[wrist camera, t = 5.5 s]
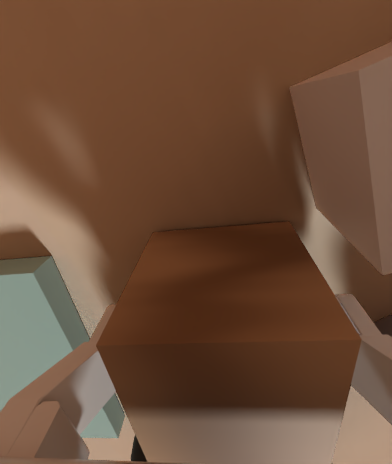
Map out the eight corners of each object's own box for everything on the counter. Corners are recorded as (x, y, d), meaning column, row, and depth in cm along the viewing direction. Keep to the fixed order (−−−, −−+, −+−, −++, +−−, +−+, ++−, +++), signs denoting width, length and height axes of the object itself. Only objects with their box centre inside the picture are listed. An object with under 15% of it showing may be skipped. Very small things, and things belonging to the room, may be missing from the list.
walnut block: (289, 221, 9) (362, 339, 4) (284, 323, 11) (329, 470, 7) (152, 232, 9) (96, 345, 5) (174, 326, 12) (148, 463, 7)
